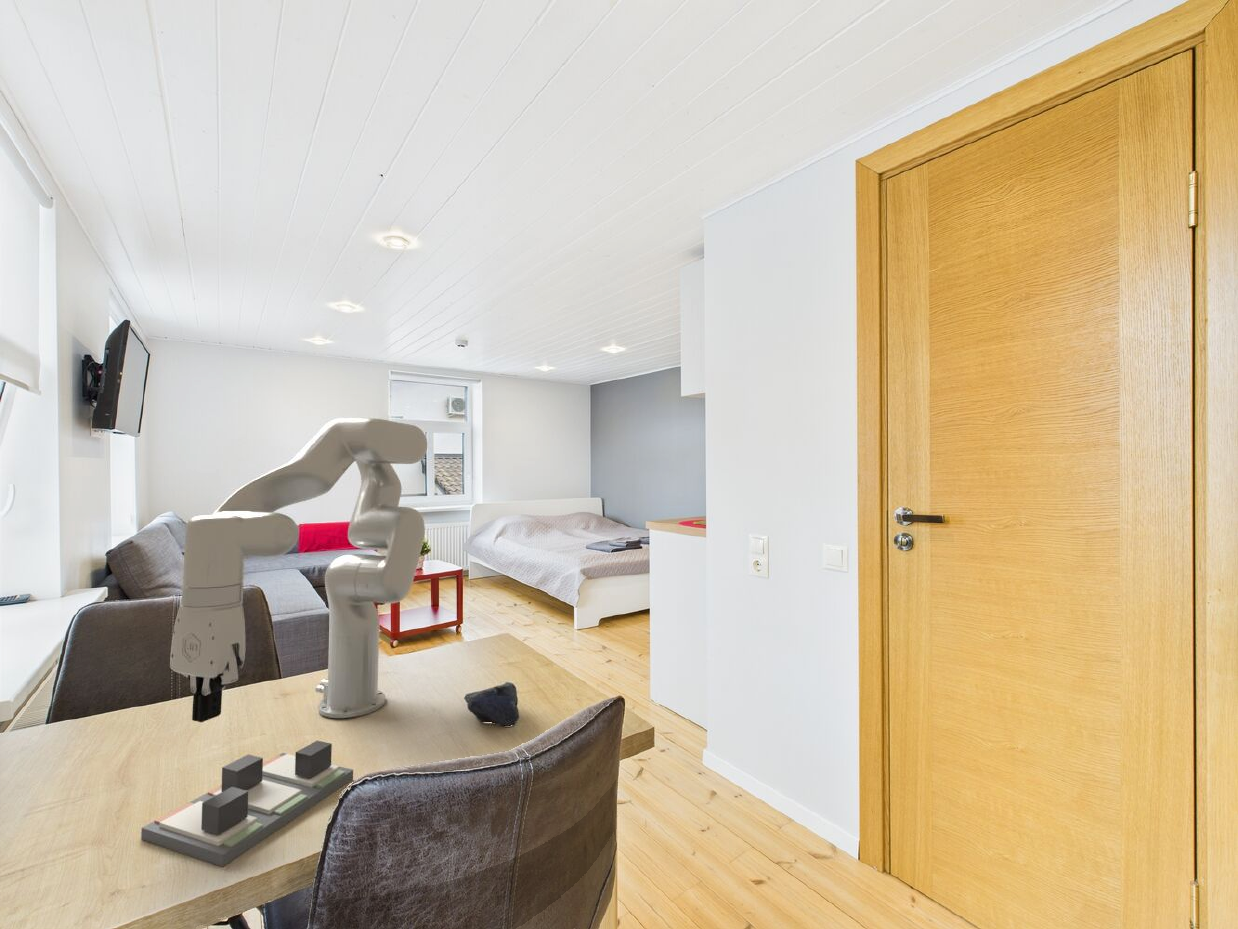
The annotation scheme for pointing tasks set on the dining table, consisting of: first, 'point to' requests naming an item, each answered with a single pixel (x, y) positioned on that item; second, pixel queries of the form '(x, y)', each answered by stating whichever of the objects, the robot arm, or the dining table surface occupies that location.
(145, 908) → the dining table surface
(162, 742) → the dining table surface
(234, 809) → the block
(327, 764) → the block
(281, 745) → the dining table surface
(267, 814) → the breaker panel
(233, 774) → the block
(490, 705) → the rock
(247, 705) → the dining table surface
